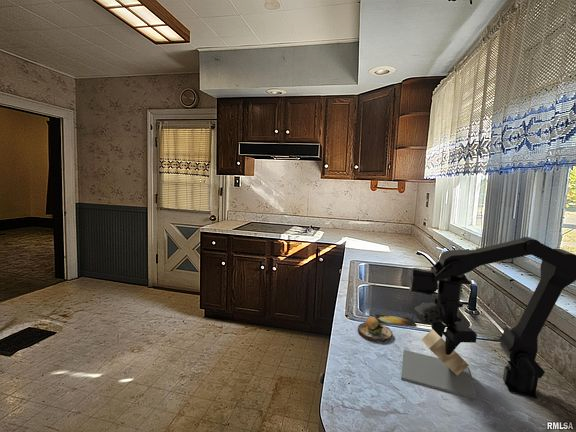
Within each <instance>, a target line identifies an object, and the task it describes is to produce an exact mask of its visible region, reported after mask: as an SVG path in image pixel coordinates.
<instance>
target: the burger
mask: <svg viewBox="0 0 576 432" xmlns="http://www.w3.org/2000/svg"><path fill="white" fill-rule="evenodd" d="M368 317H369V318H367V319H366V321H365V322H362V323H360V324H359V325H358V327H357V333H358V335H359V336H360V337H361V338H362V339H364V340H365V341H366V340H367V341H369V342H372V343H387V342H388V341H389V339H390V338H392V336H393V332H392V329H390V328H389V327H388V326H386V325H385V324H379V323H378V321H377V319H376V318H374V317H370V316H368Z"/></svg>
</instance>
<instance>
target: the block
mask: <svg viewBox="0 0 576 432" xmlns="http://www.w3.org/2000/svg"><path fill="white" fill-rule="evenodd" d="M421 341H422V343H424V345H425V346H426V347H427V348H428V349H429V350H430V352H431V353H433V354H434V355H435V357H436V358H439V359H440V360H441V361H442V362H443V363H444V364H445V365H446V366H448V367H449V368H450V369H451V370H452V371H453V372H454V373H455V374H456V375H457V376H458V375H459V374H460V373H461V372H462V371H463V370H465V369H466V368H467V367H468V368H469V366H470V364H469V363H467V361H466V360H465V359H464V358H463V357H462V356H461V355H460V354H459V353H457V351H456V350H454V351H453V352H452V353H451V354H450V355H447V354H446V340H444V339H443V337H442V338H441V337H440V336H439V335H438V334H437V333H436V332H435V331H434V330H433V329H432V328H431V330H430V331H429V332H428V333H426V334H425V336H423V337H422V338H421Z"/></svg>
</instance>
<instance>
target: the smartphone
mask: <svg viewBox="0 0 576 432" xmlns="http://www.w3.org/2000/svg"><path fill="white" fill-rule="evenodd" d="M373 318H376V319H377V321H378V323H379V324H382V325H392V326H404V327H418V326H417V324H416V322H415V320H414V319H413V317H406V316H405V317H404V316H395V315H384V314H375V313H374V314H373Z"/></svg>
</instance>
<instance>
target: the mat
mask: <svg viewBox="0 0 576 432" xmlns="http://www.w3.org/2000/svg"><path fill="white" fill-rule="evenodd" d="M402 353H403V354H402V366H401V380H403V381H407V382H410V383H414V384H418V385H421V386H425V387H428V388H432V389H435V390H438V391H439V390H440V391H443V392H447V393H450V394H454V395H458V396H462V397H466V398H468V399H469V398H470V399H473V400H477V396H476V392H475V388H474V384H473V381H472V378H471V373H470V370H469V366H468V367H467V368H466V369H465V370H463V371H462V372H461V373H460V374H459V375H458V376H457V375H456V374H455V373H454V372H453V371H452V370H451V369H450V368H449V367H448V366H446V365H445V364H444V363H443V362H442V361H441V360H440V359H439V358H438V357H437V356H432V355H427V354H423V353H420V352H414V351H410V350H406V349H403V351H402Z"/></svg>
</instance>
